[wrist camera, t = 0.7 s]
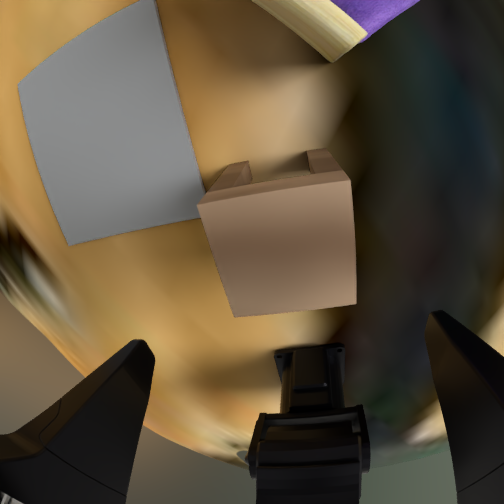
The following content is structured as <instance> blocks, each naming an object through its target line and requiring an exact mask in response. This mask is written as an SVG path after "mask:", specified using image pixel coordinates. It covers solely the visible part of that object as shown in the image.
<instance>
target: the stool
mask: <svg viewBox="0 0 504 504" xmlns="http://www.w3.org/2000/svg"><path fill="white" fill-rule="evenodd" d="M307 157H308V163H309V169H310V172H311V175H304V176H297V177H290V178H284V179H278V180H272V181H266V182H260V183H254V184H250V183H251V181H252V175H251V171H250V167H249V162H248V161H244V162H239V163H234V164H230V165H229V166H228V167H227V168H226V169H225V170H224V172H223V173H222V174H221V175H220V177H219V178H218V179H217V180H216V181H215V183H214V184H213V185H212V186H211V188H210V189H209V190H208V191H207V193H206V194H205V195H204V196H203V198H202V199H201V200H200V202H199V203H198V204H197V207H198V210H199V214H200V217H201V220H202V223H203V226H204V229H205V233H206V236H207V239H208V242H209V245H210V248H211V251H212V254H213V257H214V260H215V263H216V266H217V269H218V272H219V275H220V278H221V281H222V284H223V287H224V290H225V293H226V295H227V298H228V301H229V304H230V307H231V310H232V313H233V315H234V317H245V316H257V315H268V314H279V313H288V312H298V311H306V310H315V309H323V308H331V307H338V306H345V305H352V304H356V253H355V231H354V216H353V203H352V192H351V182H350V179H349V178H348V176H347V175H346V174H345V172H344V171H343V170H342V168H341V167H340V166H339V164H338V163H337V162H336V160H335V159H334V158H333V157H332V155H331V154H330V153H329V151H328V150H327V149H326V148H324V149H316V150H309V151H307Z"/></svg>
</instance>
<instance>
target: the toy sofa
mask: <svg viewBox="0 0 504 504" xmlns="http://www.w3.org/2000/svg"><path fill="white" fill-rule="evenodd" d="M251 1H252V2H254V3H255V4H257V5H258V6H260V7H261V8H263V9H264V10H265V11H267V12H268V13H270V14H271V15H272V16H274V17H275V18H277V19H278V20H279V21H281V22H282V23H283V24H285V25H286V26H287V27H288V28H290V29H291V30H292V31H294V32H295V33H296V34H297V35H299V36H300V37H301V38H302V39H304V40H305V41H306V42H307V43H308V44H310V45H311V46H312V47H313V48H314V49H316V50H317V51H318V52H319V53H320V54H321V55H322V56H323V57H325V58H326V59H327V60H328V61H330V62H335V61H336V60H337V59H339V58H340V57H341V56H342V55H343V54H345V53H346V52H348V51H349V50H350V49H351V48H353V47H354V46H355V45H356V44H358V43H362V42H363V41H364V40H366V39H367V38H369V37H370V36H371V35H372V34H373V33H374V32H376V31H377V30H378V29H380V28H381V27H382V26H384V25H385V24H386V23H387V22H389V21H390V20H392V19H394V18H395V17H396V16H398V15H399V14H400V13H402V12H404V11H405V10H406V9H408V8H409V7H411V6H412V5H414V4H415V3H417V2H418V1H420V0H251Z"/></svg>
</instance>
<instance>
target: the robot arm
mask: <svg viewBox="0 0 504 504" xmlns="http://www.w3.org/2000/svg"><path fill="white" fill-rule="evenodd" d="M425 341H426V346H427V350H428V355H429V360H430V365H431V370H432V375H433V380H434V384H435V388H436V392H437V395H438V399H439V402H440V406H441V410H442V414H443V418H444V422H445V427H446V431H447V436H448V441H449V446H450V451H451V456H452V461H453V469H454V475H455V483H456V491H457V503H458V504H504V357H503V356H502V355H501V354H500V353H498V352H497V351H496V350H495V349H493V348H492V347H491V346H490V345H488V344H487V343H486V342H485V341H483V340H482V339H481V338H479V337H478V336H477V335H476V334H474V333H473V332H472V331H470V330H469V329H468V328H466V327H465V326H464V325H462V324H461V323H460V322H458V321H457V320H456V319H454V318H453V317H452V316H450V315H449V314H447V313H446V312H445V311H443V310H438V311H434V312H431V313H430V314H429V316H428V321H427V325H426V329H425ZM274 358H275V362H276V365H277V369H278V373H279V376H280V380H281V384H282V388H281V403H280V413H276V414H267V413H260V414H259V418H258V420H257V421H256V425H255V429H254V432H253V436H252V440H251V443H250V447H249V450H248V452H247V454H246V456H245V463H246V464H247V465H248V466H249V471H250V476H251V478H252V479H253V480H256V504H359V499H360V496H361V475H362V474H364V473H368V472H369V469H370V441H369V435H368V430H367V425H366V419H365V414H364V410H363V405H362V404H361V405H356V406H354V407H347V408H345V406H344V395H343V385H342V384H343V383H344V372H345V346H344V345H343V344H334V345H326V346H317V347H308V348H298V349H287V350H277V351H275V353H274ZM154 366H155V356H154V354H153V352H152V351H151V349H150V348H149V346H148V345H147V343H146V342H145V341H144V340H142V339H134V340H132V341H130V342H129V343H128V344H127V345H125V346H124V347H123V348H122V349H120V350H119V351H118V352H117V353H115V354H114V355H113V356H112V357H110V358H109V359H108V360H107V361H106V362H104V363H103V364H102V365H101V366H99V367H98V368H97V369H96V370H94V371H93V372H92V373H91V374H90V375H88V376H87V377H86V378H85V379H83V380H82V381H81V382H80V383H79V384H77V385H76V386H75V387H74V388H72V389H71V390H70V391H69V392H68V393H66V394H65V395H64V396H63V397H62V398H60V399H59V400H58V401H57V402H55V403H54V404H53V405H52V406H50V407H49V408H48V409H46V410H45V411H44V412H42V413H41V414H40V415H38V416H37V417H35V418H34V419H32V420H31V421H30V422H28V423H27V424H25V425H24V426H22V427H21V428H20V429H18V430H16V431H15V432H13V433H10V434H4V435H0V504H125V502H126V497H127V496H126V495H127V492H128V487H129V482H130V476H131V472H132V467H133V462H134V458H135V454H136V449H137V445H138V441H139V437H140V432H141V429H142V425H143V421H144V417H145V413H146V409H147V405H148V401H149V396H150V390H151V384H152V377H153V371H154Z"/></svg>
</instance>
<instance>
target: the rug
mask: <svg viewBox="0 0 504 504" xmlns="http://www.w3.org/2000/svg"><path fill="white" fill-rule="evenodd" d="M18 90H19V96H20V101H21V106H22V111H23V115H24V120H25V124H26V128H27V132H28V136H29V140H30V143H31V147H32V150H33V154H34V157H35V160H36V164H37V167H38V170H39V173H40V176H41V179H42V182H43V184H44V187H45V190H46V193H47V195H48V198H49V201H50V203H51V206H52V208H53V211H54V213H55V216H56V218H57V220H58V223H59V225H60V227H61V230H62V232H63V234H64V236H65V239H66V241H67V243H68V245H69V246H71V245H75V244H79V243H83V242H87V241H91V240H96V239H100V238H104V237H109V236H113V235H117V234H122V233H126V232H131V231H136V230H140V229H145V228H150V227H155V226H159V225H164V224H169V223H174V222H179V221H185V220H190V219H195V218H200V214H199V210H198V207H197V204H198V203H199V202H200V200H201V199H202V198H203V196H204V195H205V194H206V192H205V188H204V185H203V181H202V178H201V174H200V171H199V167H198V164H197V160H196V157H195V153H194V150H193V146H192V142H191V139H190V135H189V132H188V128H187V124H186V120H185V117H184V113H183V109H182V105H181V102H180V98H179V94H178V90H177V86H176V82H175V79H174V75H173V71H172V67H171V63H170V59H169V55H168V50H167V46H166V42H165V38H164V34H163V30H162V25H161V21H160V17H159V12H158V8H157V4H156V0H140V1H138V2H136V3H134V4H132V5H130V6H128V7H126V8H124V9H122V10H120V11H118V12H116V13H114V14H113V15H111V16H109V17H107V18H105V19H104V20H102V21H100V22H99V23H97V24H95V25H94V26H92V27H90V28H89V29H87V30H86V31H84V32H83V33H81V34H80V35H78V36H77V37H75V38H74V39H72V40H71V41H69V42H68V43H67V44H65V45H64V46H62V47H61V48H60V49H58V50H57V51H56V52H54V53H53V54H52V55H51V56H49V57H48V58H47V59H46V60H44V61H43V62H42V63H41V64H39V65H38V66H37V67H36V68H35V69H34V70H32V71H31V72H30V73H29V74H28V75H27V76H26V77H25V78H23V79H22V80H21V81H20V82H19V83H18Z"/></svg>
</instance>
